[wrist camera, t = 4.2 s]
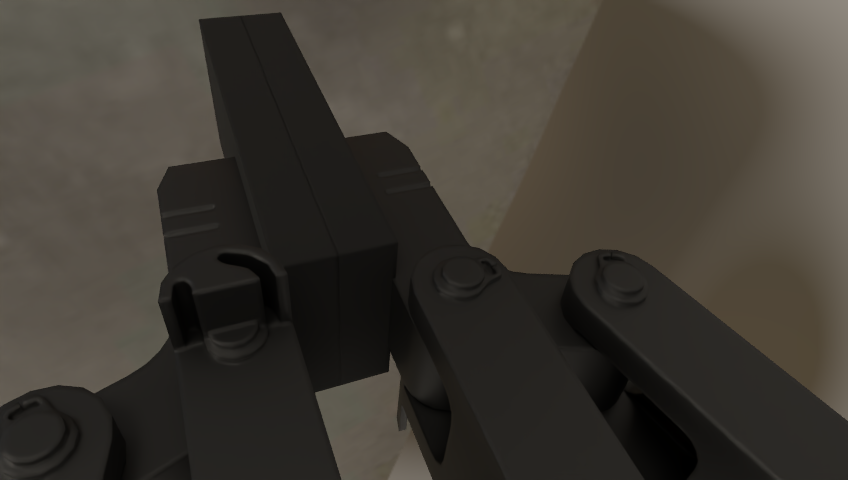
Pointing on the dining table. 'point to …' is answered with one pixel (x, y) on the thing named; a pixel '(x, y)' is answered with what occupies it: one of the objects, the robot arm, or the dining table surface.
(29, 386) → the dining table surface
